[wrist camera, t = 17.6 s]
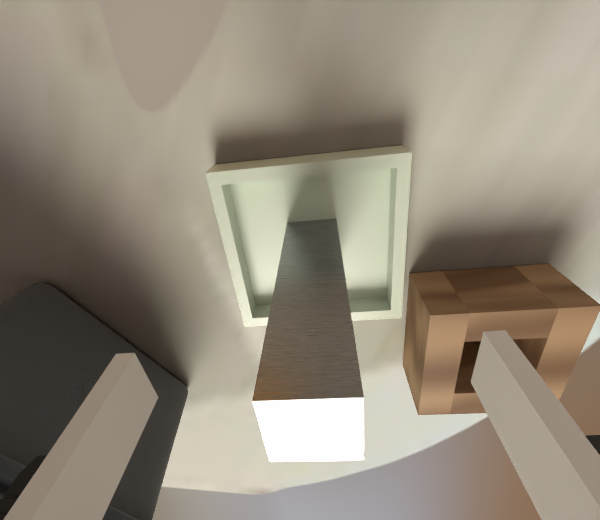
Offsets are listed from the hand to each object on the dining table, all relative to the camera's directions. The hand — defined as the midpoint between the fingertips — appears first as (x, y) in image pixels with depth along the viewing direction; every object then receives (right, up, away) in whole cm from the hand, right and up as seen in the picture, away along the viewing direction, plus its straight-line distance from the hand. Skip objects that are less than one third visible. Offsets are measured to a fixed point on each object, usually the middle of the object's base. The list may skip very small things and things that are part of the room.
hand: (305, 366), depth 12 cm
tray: (+1, +6, +11) cm, 12 cm away
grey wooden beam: (+1, +5, +10) cm, 12 cm away
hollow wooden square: (+14, -1, +14) cm, 20 cm away
